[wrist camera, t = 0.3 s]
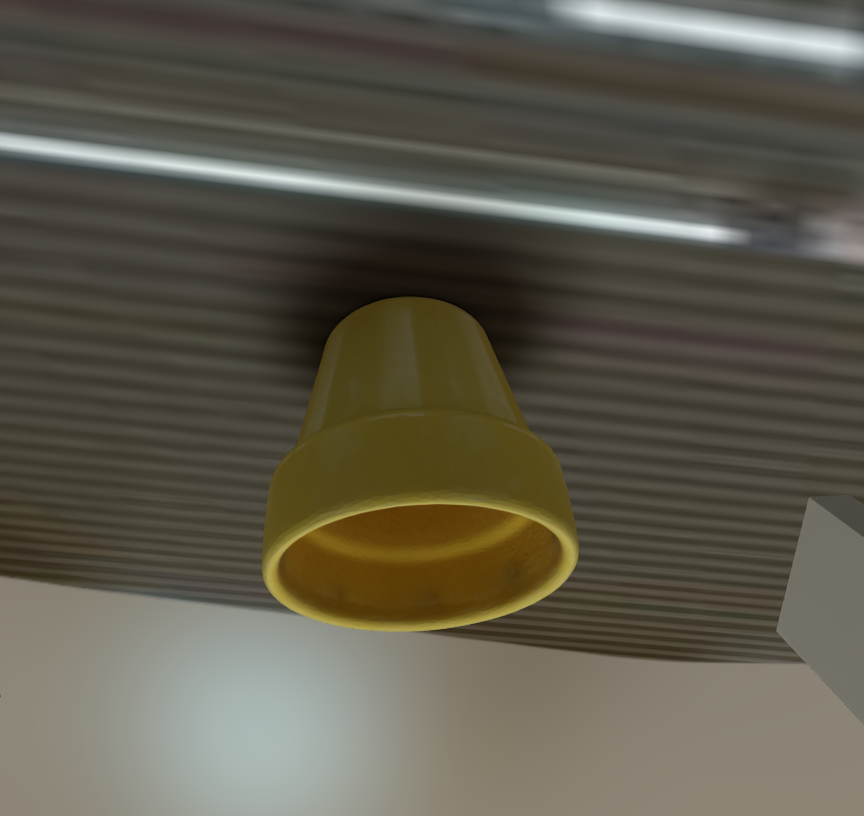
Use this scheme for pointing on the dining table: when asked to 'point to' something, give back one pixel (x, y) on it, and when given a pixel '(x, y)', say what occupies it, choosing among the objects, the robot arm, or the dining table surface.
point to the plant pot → (415, 482)
